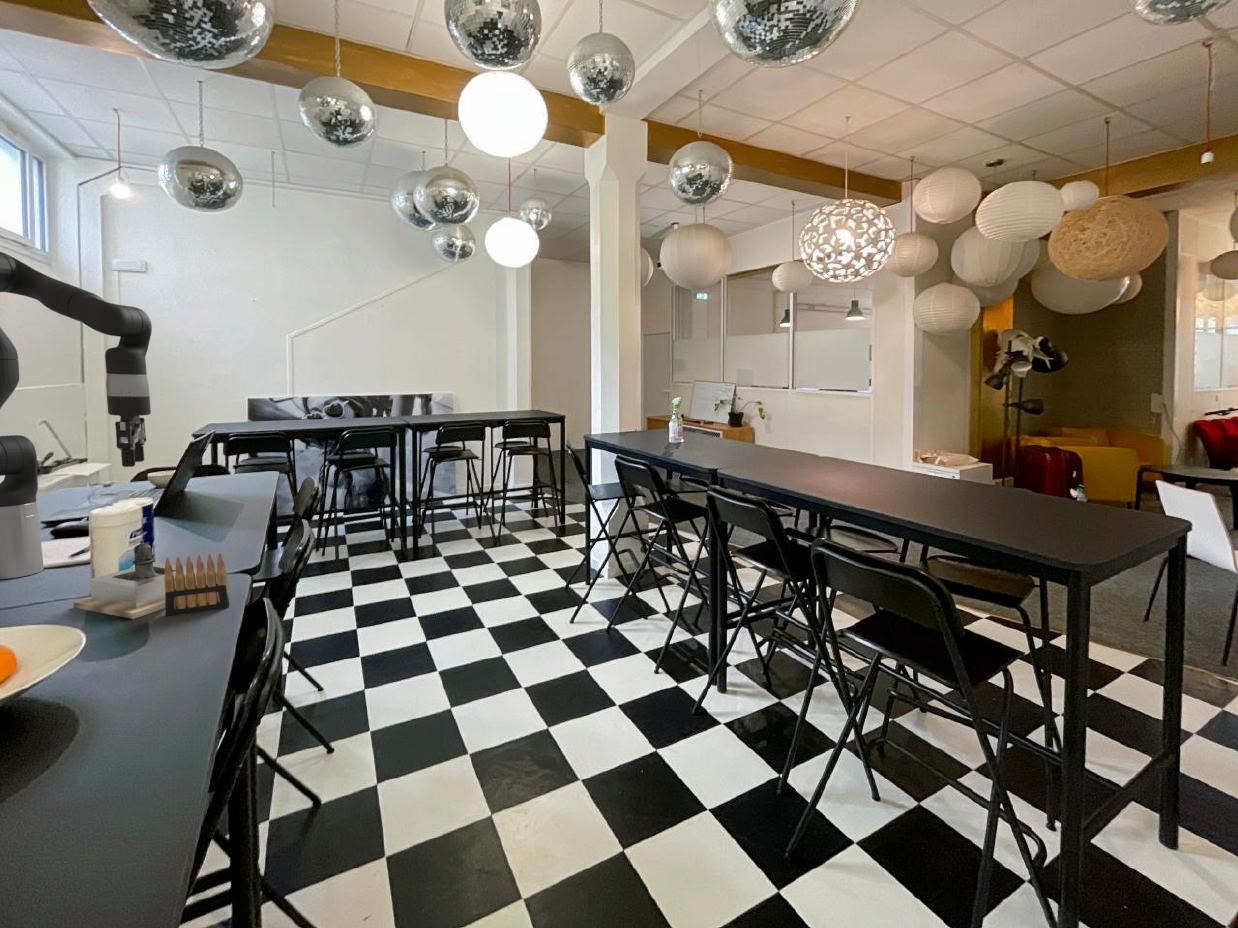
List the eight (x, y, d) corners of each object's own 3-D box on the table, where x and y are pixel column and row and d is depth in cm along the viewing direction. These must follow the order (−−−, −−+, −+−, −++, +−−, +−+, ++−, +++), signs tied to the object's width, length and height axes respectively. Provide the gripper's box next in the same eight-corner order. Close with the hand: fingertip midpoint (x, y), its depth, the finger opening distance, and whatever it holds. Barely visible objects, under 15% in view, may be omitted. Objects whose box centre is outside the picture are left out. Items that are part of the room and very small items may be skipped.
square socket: (91, 600, 121) (89, 579, 120) (155, 580, 133) (154, 561, 132) (136, 608, 117) (134, 587, 117) (198, 587, 130) (197, 568, 129)
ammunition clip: (165, 616, 117) (160, 559, 115) (167, 613, 118) (162, 557, 117) (228, 608, 122) (225, 553, 120) (229, 605, 124) (226, 551, 122)
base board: (73, 607, 119) (73, 602, 119) (158, 581, 136) (158, 576, 136) (133, 619, 115) (133, 613, 115) (213, 590, 131) (213, 585, 131)
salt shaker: (169, 590, 127) (165, 538, 125) (140, 599, 121) (135, 545, 120) (152, 587, 129) (147, 535, 127) (122, 595, 123) (117, 541, 122)
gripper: (141, 395, 127) (147, 468, 129) (155, 393, 139) (160, 459, 142) (97, 394, 123) (103, 469, 126) (116, 392, 136) (121, 460, 138)
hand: (133, 464), depth 134 cm, fingers open, 8 cm apart
